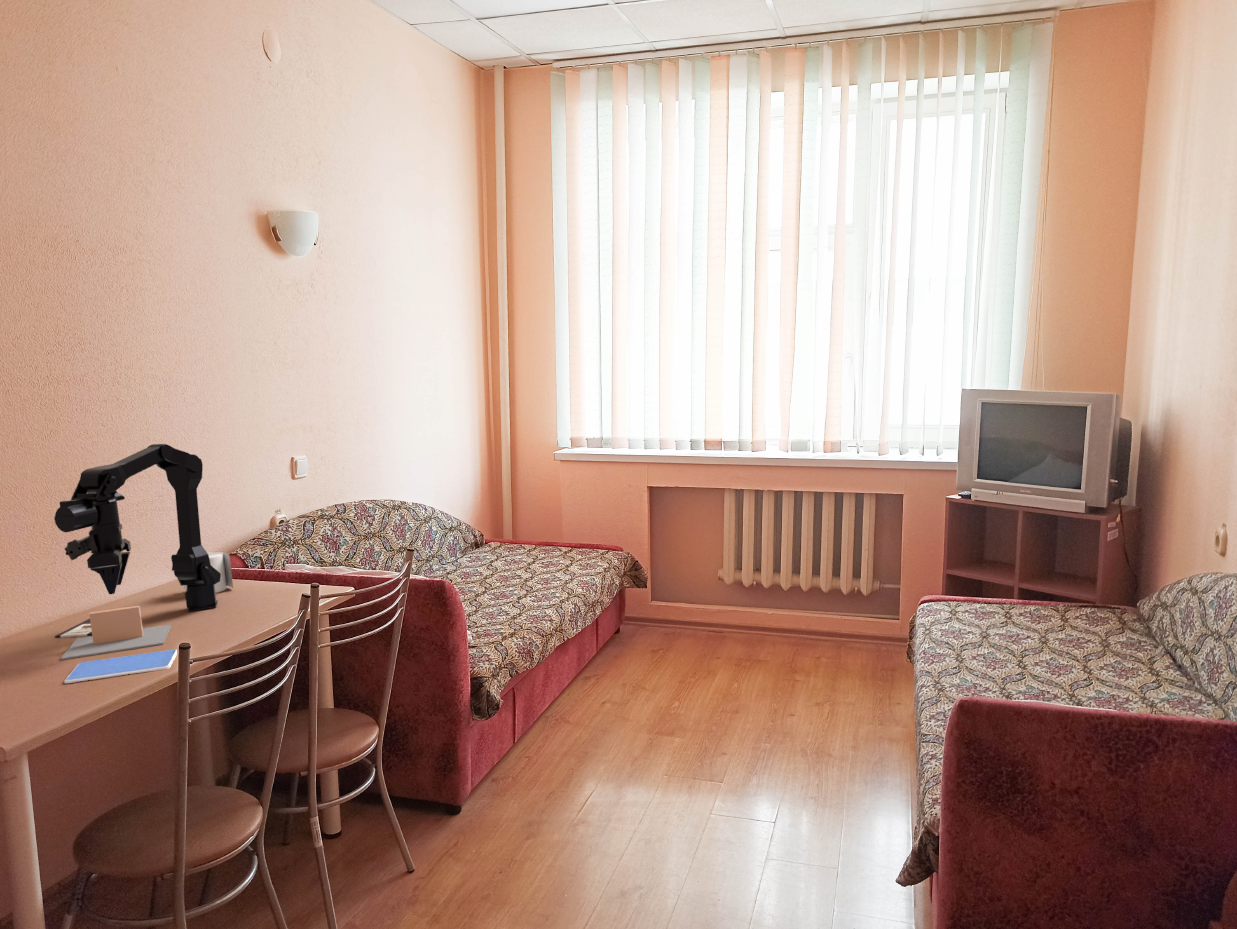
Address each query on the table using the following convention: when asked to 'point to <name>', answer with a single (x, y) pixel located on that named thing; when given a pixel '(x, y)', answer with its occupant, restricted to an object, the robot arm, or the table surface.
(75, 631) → the chocolate bar
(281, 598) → the table surface
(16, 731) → the table surface
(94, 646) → the mat
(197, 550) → the robot arm
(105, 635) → the tile
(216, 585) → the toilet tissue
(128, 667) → the tablet computer
